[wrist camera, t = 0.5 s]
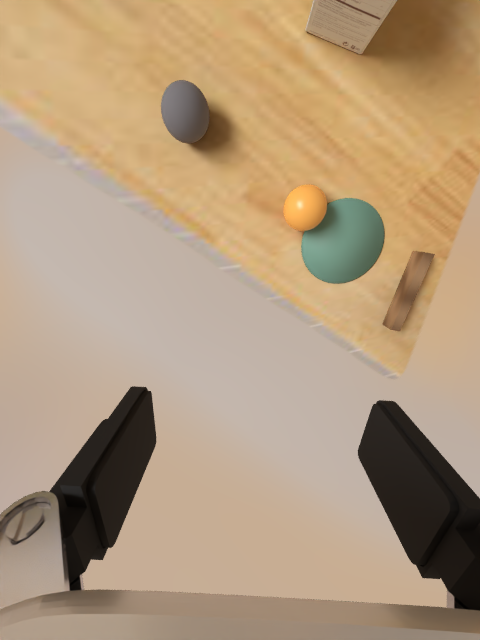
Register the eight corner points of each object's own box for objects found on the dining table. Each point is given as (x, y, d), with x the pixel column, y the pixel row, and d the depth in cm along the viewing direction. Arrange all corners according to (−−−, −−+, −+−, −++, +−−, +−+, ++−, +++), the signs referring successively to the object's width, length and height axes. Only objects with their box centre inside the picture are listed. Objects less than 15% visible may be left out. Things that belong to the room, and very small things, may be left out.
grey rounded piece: (182, 85, 28) (168, 53, 23) (220, 116, 29) (215, 92, 24) (162, 131, 30) (145, 110, 25) (198, 159, 31) (189, 144, 26)
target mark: (339, 179, 32) (340, 178, 31) (401, 231, 34) (402, 231, 34) (285, 254, 35) (285, 254, 35) (343, 297, 37) (344, 297, 37)
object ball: (297, 179, 32) (307, 169, 27) (327, 204, 33) (343, 199, 28) (273, 216, 33) (278, 213, 28) (302, 238, 34) (312, 240, 29)
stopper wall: (412, 250, 35) (424, 252, 32) (422, 252, 35) (434, 254, 33) (382, 324, 39) (390, 329, 37) (391, 325, 39) (399, 331, 37)
